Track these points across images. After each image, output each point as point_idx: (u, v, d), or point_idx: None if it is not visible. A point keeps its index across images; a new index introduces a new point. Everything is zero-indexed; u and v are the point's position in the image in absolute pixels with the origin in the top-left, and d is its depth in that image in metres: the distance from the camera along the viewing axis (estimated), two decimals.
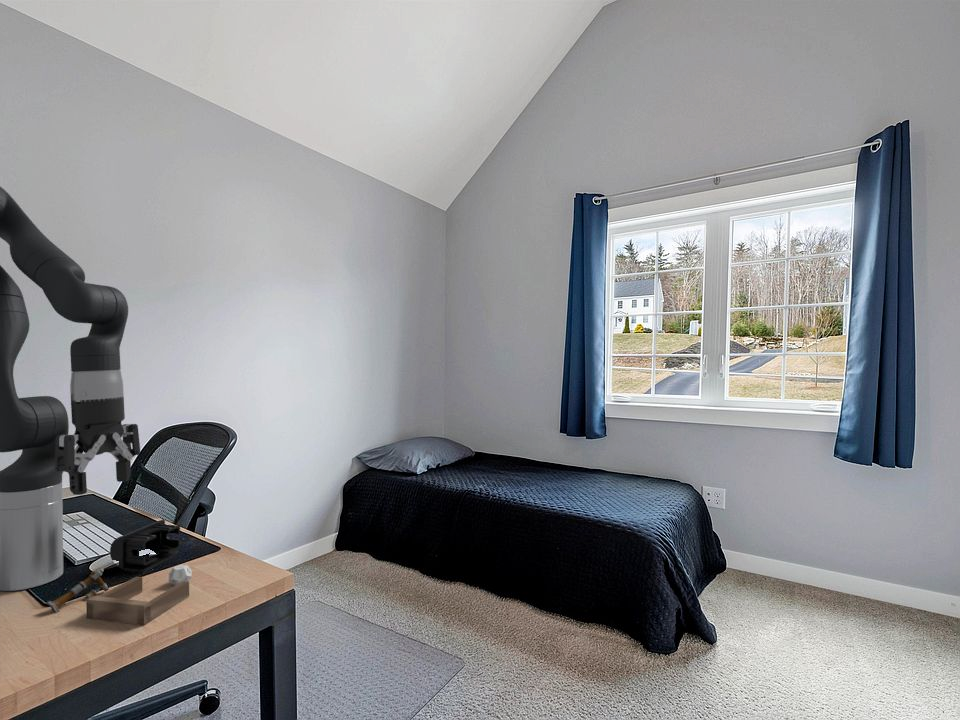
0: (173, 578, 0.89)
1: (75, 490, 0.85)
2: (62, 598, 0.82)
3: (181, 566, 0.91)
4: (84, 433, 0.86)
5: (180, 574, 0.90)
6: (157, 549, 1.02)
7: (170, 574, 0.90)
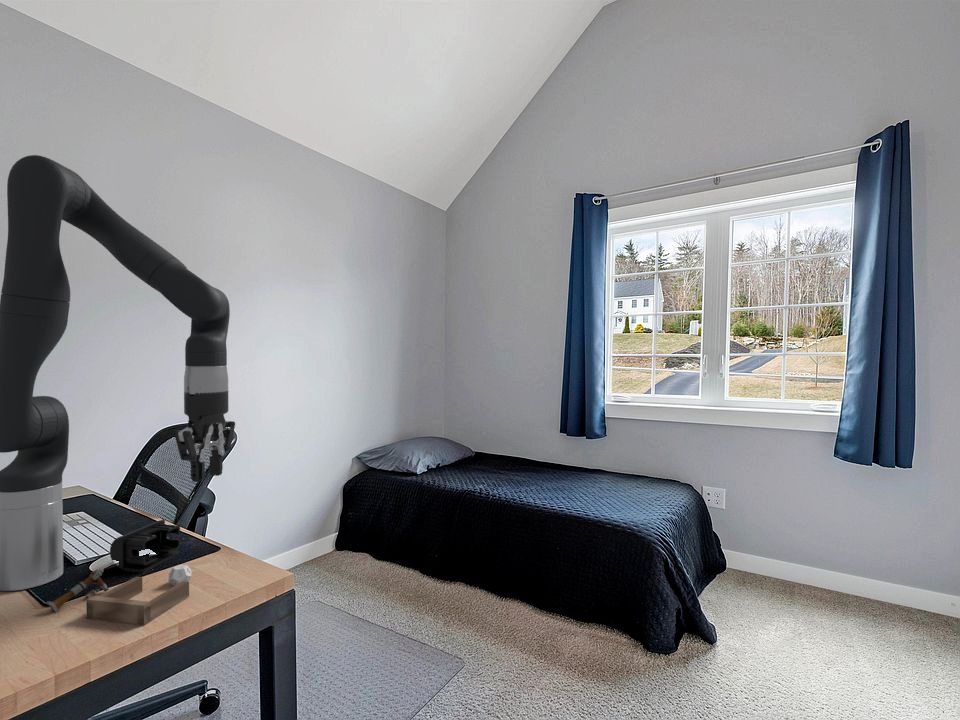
0: (173, 578, 0.89)
1: (196, 478, 0.94)
2: (62, 598, 0.82)
3: (181, 566, 0.91)
4: (196, 425, 0.93)
5: (179, 574, 0.90)
6: (157, 549, 1.02)
7: (170, 574, 0.90)
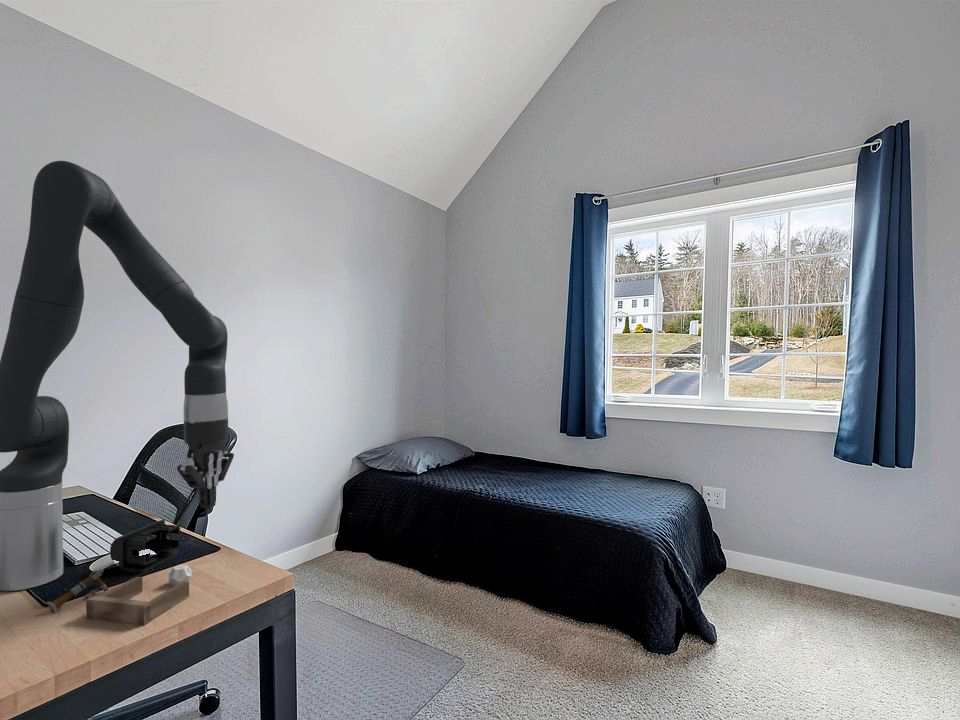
0: (173, 578, 0.89)
1: (204, 504, 0.96)
2: (61, 598, 0.82)
3: (181, 566, 0.91)
4: (196, 455, 0.93)
5: (180, 574, 0.90)
6: (157, 549, 1.02)
7: (170, 574, 0.90)
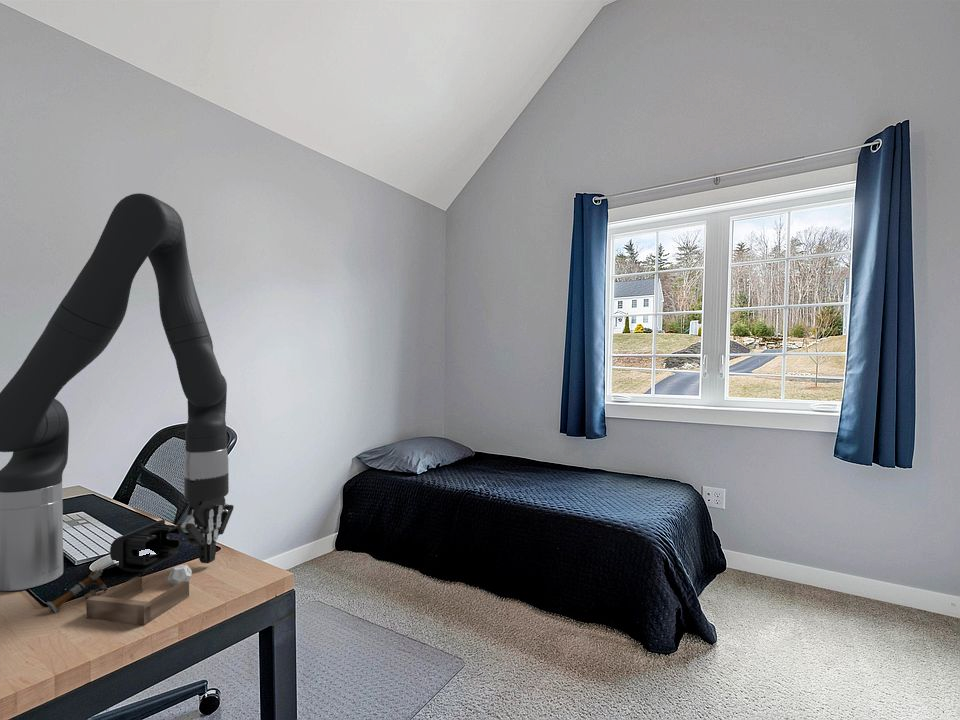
0: (173, 578, 0.89)
1: (204, 559, 0.96)
2: (61, 598, 0.82)
3: (181, 566, 0.91)
4: (196, 513, 0.93)
5: (180, 574, 0.90)
6: (157, 549, 1.02)
7: (170, 574, 0.90)
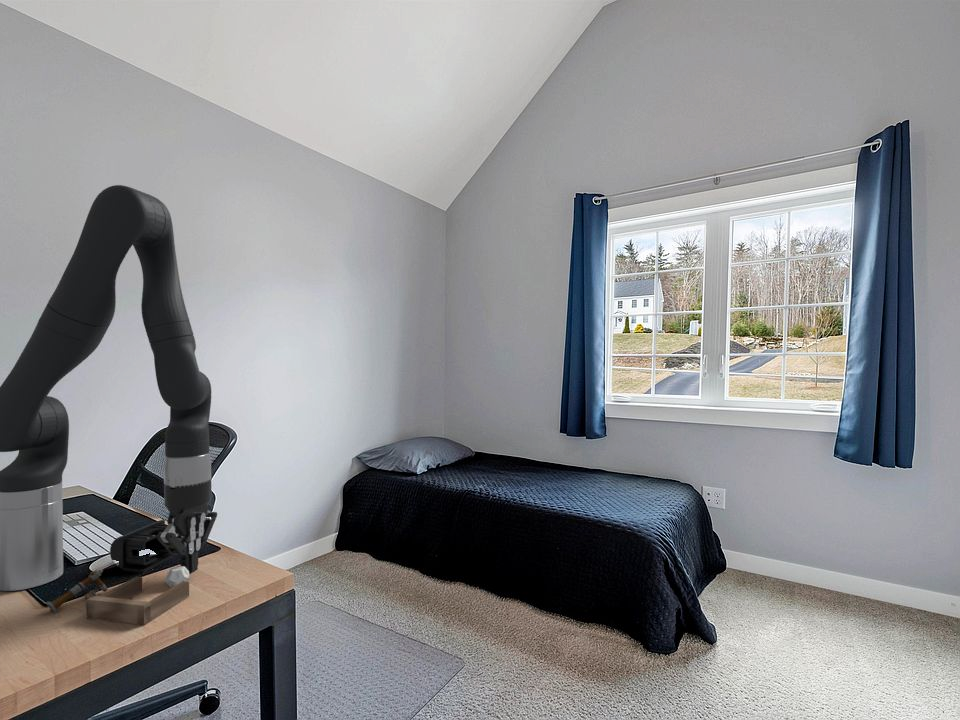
0: (170, 579, 0.88)
1: None
2: (61, 599, 0.82)
3: (178, 567, 0.90)
4: (177, 521, 0.89)
5: (177, 576, 0.89)
6: (157, 549, 1.02)
7: (167, 575, 0.89)
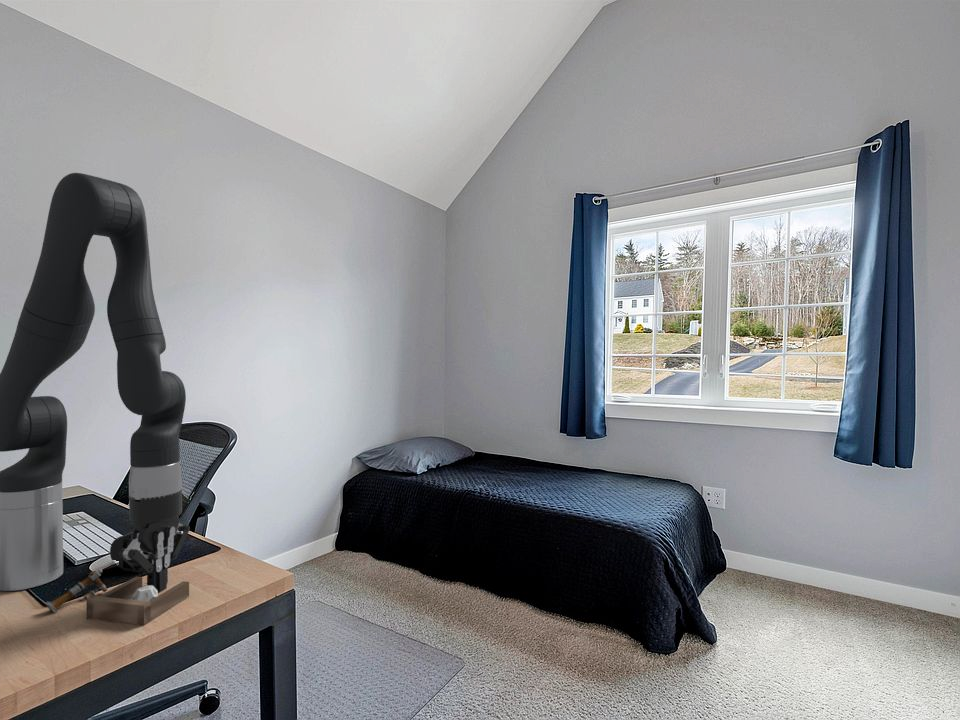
0: None
1: None
2: (60, 599, 0.82)
3: (146, 587, 0.83)
4: (142, 537, 0.82)
5: (145, 596, 0.82)
6: None
7: (134, 597, 0.82)
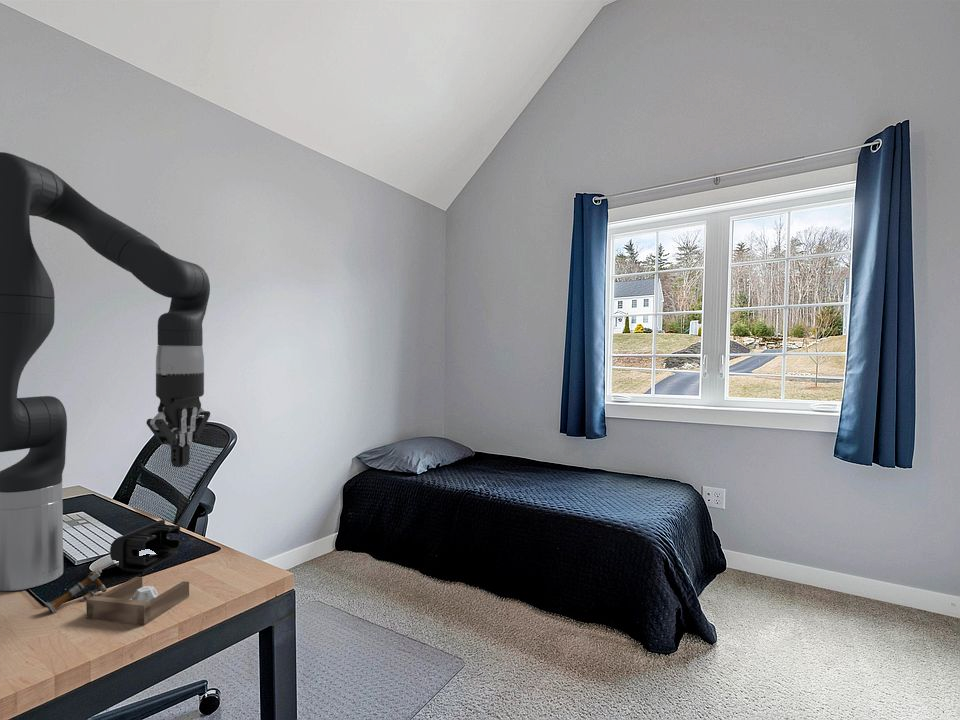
0: None
1: (176, 462, 0.91)
2: (59, 599, 0.82)
3: (146, 588, 0.83)
4: (167, 409, 0.88)
5: (145, 597, 0.82)
6: (157, 549, 1.02)
7: (133, 597, 0.82)
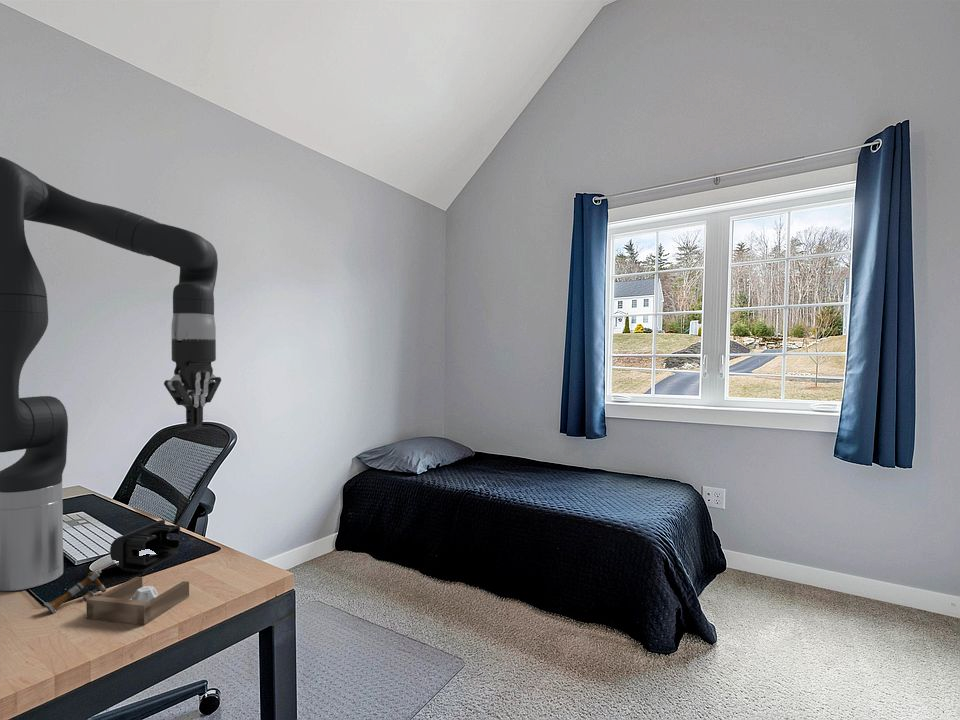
0: None
1: (191, 422, 0.98)
2: (59, 599, 0.81)
3: (146, 588, 0.83)
4: (183, 372, 0.95)
5: (145, 597, 0.82)
6: (157, 549, 1.02)
7: (133, 597, 0.82)
